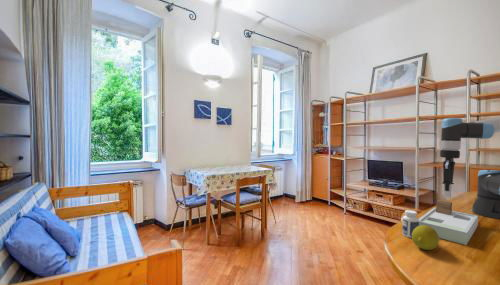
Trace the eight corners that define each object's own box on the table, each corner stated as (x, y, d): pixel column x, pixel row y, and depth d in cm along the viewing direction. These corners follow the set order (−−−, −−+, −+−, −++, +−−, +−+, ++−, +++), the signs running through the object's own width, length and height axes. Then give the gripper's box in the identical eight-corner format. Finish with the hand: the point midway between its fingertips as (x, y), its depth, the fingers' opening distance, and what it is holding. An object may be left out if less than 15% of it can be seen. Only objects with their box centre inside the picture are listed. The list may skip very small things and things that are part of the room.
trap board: (433, 216, 121) (434, 207, 121) (477, 225, 109) (478, 215, 109) (415, 231, 102) (416, 220, 102) (466, 245, 90) (466, 232, 90)
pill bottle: (419, 235, 98) (420, 211, 97) (416, 239, 94) (418, 214, 93) (403, 231, 101) (404, 208, 101) (400, 235, 97) (401, 211, 97)
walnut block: (438, 210, 119) (439, 199, 119) (451, 212, 115) (452, 202, 115) (436, 212, 115) (436, 201, 115) (449, 214, 112) (449, 204, 112)
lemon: (431, 256, 81) (432, 233, 80) (405, 247, 87) (406, 225, 87) (444, 248, 87) (445, 226, 86) (419, 240, 93) (420, 219, 93)
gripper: (443, 148, 127) (440, 193, 128) (437, 149, 118) (434, 197, 119) (462, 149, 121) (459, 196, 122) (457, 150, 112) (454, 201, 113)
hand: (447, 197), depth 120 cm, fingers closed
